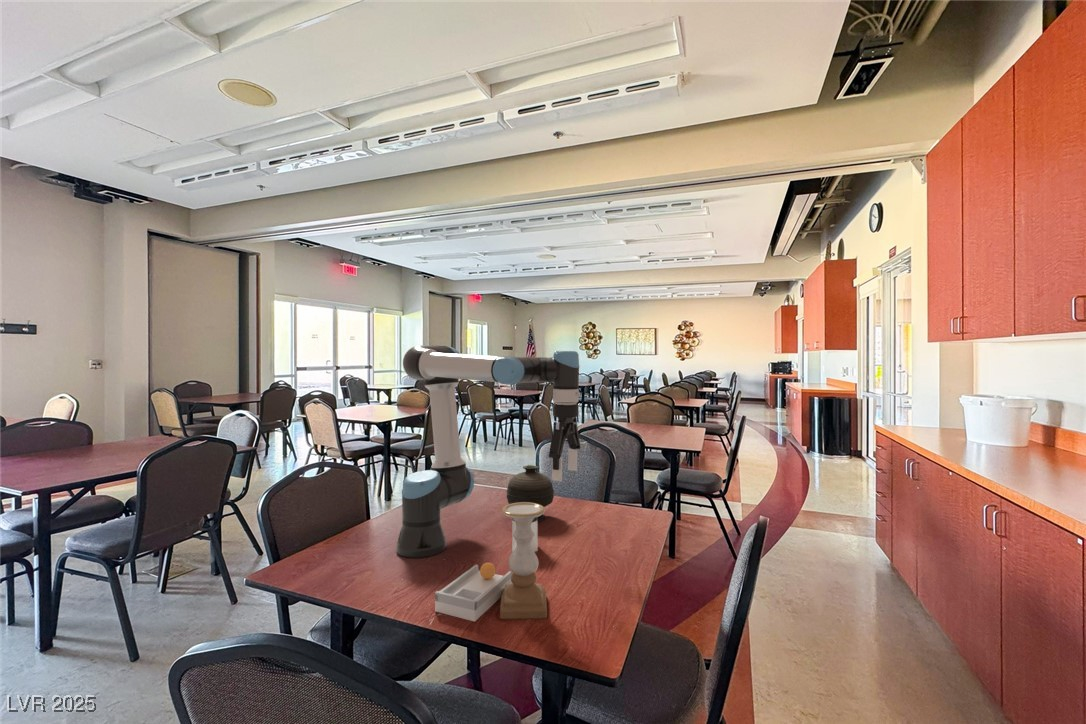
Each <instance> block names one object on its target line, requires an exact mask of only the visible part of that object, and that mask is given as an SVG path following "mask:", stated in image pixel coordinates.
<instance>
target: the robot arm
mask: <svg viewBox="0 0 1086 724" xmlns="http://www.w3.org/2000/svg"><path fill="white" fill-rule="evenodd" d="M579 356H580V355H579V353H578V352H577V351H576V350H555V351H554V352H553V356H550V357H541V356H538V357H535V356H526V357H525V356H523V357H522V356H521V357H519V356H504V355H503V356H497V355H485V354H483V355H482V354H468V353H467V354H466V353H460V351H458V350H457V349H456V348H454V347H451V346H448V345H447V346H446V345H425V344H424V345H423V344H422V345H419V344H418V345H415V346H413V347H411V348H409V349H408V350H406V352H405V354H404V356H403V359H402V367H403V370H404V372H405V373H406V375H407V376H409V378H411V379H413V380H416V381H423V382H424V384H423V385H424V387H425V388H426V389H427V390H428V392H429V400H430V412H431V423H432V424H431V425H432V436H433V448H434V459H435V460H434V462H433V463H432V464H431V467H430V469H426V470H419V471H415V472H413V473H410V474H408V475H407V476H405V477H404V479H403V481H402V489H401V501H402V502H401V503H402V504H401V505H402V507H401V508H402V511H401V512H402V513H401V516H402V526H401V529H400V531H399V534H398V539H397V542H396V553H397V554H398V555H399V556H401V557H405V558H414V559H415V558H418V559H419V558H428V557H432V556H435V555H437V554H439V553H442V552H443V551H444V550H445V549H446V547H447V539H446V536H445V533H444V529H443V527H442V524H441V509H444V508H447V507H449V506H452V505H454V504H458V503H460V502H462V501H464V500H466V499H467V498H468V497H469V496H471V494H472V492H473V490H474V486H475V478H474V475H473V472H472V471H471V469H470V468H469V467H467V464H466V461H465V460H464V459H463V458H462V457H461V446H460V434H459V433H460V432H459V423H458V422H459V421H458V412H457V410H458V409H457V397H456V387H457V386H458V385H459V384H460V383H459V380H468V381H469V380H470V381H480V382H481V381H483V382H491V383H492V382H493V383H500V384H501V385H510V386H512V385H516V384H517V385H518V384H530V383H552V384H553V386H552V390H553V391H552V402H553V403H554V404H553V405H552V415H553V417H554V418H557V419H558V421H554V422H553V428H552V429H553V431H552V434H551V442H550V446H549V452H548V458H550V459H551V482H560V483H561V482H562V481H563V457H562V454H563V450H564V445H565V441H566V439H567V443H568V446H569V448H567V449H568V450H567V455H568V456H567V457H568V458H567V459H568V460H567V471H573V472H578V450H580V449H581V442H580V434H579V428H578V417H579V414H580V413H579V407H580V405H579V404H578V403H579V399H580V398H579V397H580V395H581V393H580V392H579V389H580V385H579V382H580V378H579V377H580V366H581V365H580V357H579Z"/></svg>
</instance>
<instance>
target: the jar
mask: <svg viewBox="0 0 1086 724" xmlns="http://www.w3.org/2000/svg"><path fill="white" fill-rule="evenodd" d="M537 519H538V517H536V518H534V520H533V521H532V522H531V529H532V531H533V532H534V537H533V538H532V540H531V543H530V545H531V547H532V549H533V551H534V553H536V552H538V538H539V537H538V535H539V534H538V533H539V532H538V522H537ZM511 521H512V524H511V525H512V526H511V528H512V529H511V531H512V532H511V535H512V536H511V539H512V542H511V544H512V545H511V547H512V549H511V550H512V551H511V552H512V553H513V552H514V550H515V548H516V545H517V542H516V540H515V538H514V537H513V533H514V532H515V530H516V523H515V521H514V520H513V518H511Z"/></svg>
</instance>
